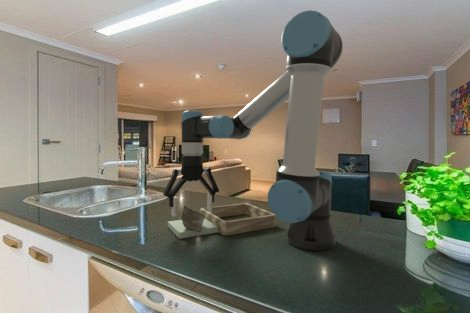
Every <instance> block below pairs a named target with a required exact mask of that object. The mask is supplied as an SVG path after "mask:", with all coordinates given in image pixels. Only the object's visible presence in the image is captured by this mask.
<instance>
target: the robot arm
mask: <svg viewBox="0 0 470 313" xmlns="http://www.w3.org/2000/svg"><path fill="white" fill-rule="evenodd" d="M280 42H281V47H282V49H283V51H284V52H285V53H286V60H285V64H286V65H285V71H284V72H283V73H282V74H281V75H280V76H279V77H278V78H277V79H275V81H273V82H272V83H270V85H269V86H267V87H266V88H265V89H264V90H263V91H262V92H261V93H259V94H258V95H257V96H256V97H255V98H253V100H252V101H250V102H249V103H247V105H246V106H244V108H242V109H241V110H240V111H239V112H238V113H236V115H234V116H233V117H230V116H229V115H224V114H216V115H208V116H207V115H206V116H204V114H203V111H201V110H184V111H183V112H182V114H181V122H180V124H181V125H180V126H181V154H182V156H181V169H177V168H173V169H172V173H171V176H170V179H169V181H168V183H167V185H166V187H165V189H164V191H163V196H165V197H166V198H168V206H169V207H170V208H171V216H172V217H173V218H175V217H177V198H176V195H177V193H179V191H180V190H181V188H182V187H183V186H184V184H186V183H187V182H193V181H194V182H197V181H199V182H200V184H202V186H203V187H204V188H205V189H206V190H207V192H208V193H207V196H206V197H207V198H206V201H207V202H206V205H207V206H206V207H207V211H209V212H212V207H213V203H215V195H216V193H219V192H220V189H219V187H218V185H217V182H216V180H215V178H214V176H213V173H212V168H211V167H205V168H203V167H204V166H203V165H204V156H203V154H204V139H218V140H219V139H220V140H221V139H230V140H231V139H233V140H241V139H243V140H244V139H246V138H248V137H249V136H250V134H251V132H252V129H253V128H255V127H256V126H257V125H259V123H260V122H262V121H263V120H265V118H267V117H268V116H270V115H272V113H273V112H275V111H276V110H277V109H278V108H279V107H281V106H282V105H283V104H284V103H286V102H287V101H288V104H287V106H288V107H287V114H286V124H285V125H286V126H285V136H284V146H283V147H284V148H283V158H282V159H283V160H282V164H281V165H280V166H279V167H278V168H276V175H275V182H274V183H273V184H272V185H271V186H270V187H269V189H268V192H267V203H268V207H269V209H270V212H271V213H274V214H275V216H276V219H279V220H280V221H282V222H286V223H290V224H289V228H288V230H287V232H286V242H287V244H289V245H291V246H292V247H295V248H297V249H302V250H306V251H314V252H321V251H329V250H333V249H334V248H335V247H336V235H335V234H334V229H333V225H332V222H331V214H332V212H331V211H332V210H331V208H332V186H333V180H332V175H331V173H330V172H327V171H319V170H317V169H316V159H317V150H318V149H317V148H318V138H319V130H320V121H321V120H320V119H321V112H322V111H321V110H322V100H323V92H324V91H323V90H324V82H325V80H324V79H325V76H327V75H328V74H329V73H331V70H332V68H333V67H334V66H335V65H336V64H337V63H338V61H339V60H340V58H341V56H342V53H343V40H342V36H341V35H340V34H339V32H338V31H336V29H335V28H334V26H333V25H332V23H331V22H330V19H328V17H327V16H325V15H324V14H322V13H321V12H320V11H317V10H305V11H301V12H299V13H297V14H296V15H294V16H292V18H291V19H290V20H289V21H288V22H287V23H286V24H285V26H284V28H283V30H282V33H281V41H280ZM180 174H181V175H182V176H181V177H180V178H179V181H178V182H177V183H176V184H175V182H176V181H177V178H178V176H180ZM203 174H206V177H207V180H208V182H209V183H210V184H209V183H208V182H207V181H206V179H205V178H204V177H203ZM174 185H175V186H174Z"/></svg>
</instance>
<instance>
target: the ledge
mask: <svg viewBox="0 0 470 313" xmlns="http://www.w3.org/2000/svg"><path fill="white" fill-rule="evenodd" d="M167 228H168V230H170V231H171V232H172V233H173V234H174V235H175V236H176V237H177V238H178V239H179V240H180V239H185V238H191V237H197V236H198V237H199V236H206V235H210V234H215V233H219V232H218V226H216V225H214V224H213V223H211V222H210V221H208V220H207V219H204V221H203V223H202V231H201V232H197V231H195V230H190V229H188V228H186V227H184V225H183V222H182V219H178V220H177V219H176V220H170V221H167Z"/></svg>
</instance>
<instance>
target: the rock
mask: <svg viewBox="0 0 470 313" xmlns="http://www.w3.org/2000/svg"><path fill="white" fill-rule="evenodd" d="M180 218H181V220H182V222H183V225H184V227H186V228H188V229H190V230H195V231H197V232H201V231H202V223H203V221H204V219H205V215H204V214H202V213H200V211H199V212H198V211H197V210H193V209H192V208H189V207H188V206H187V205H184V206H183V211H182V215H181V217H180Z"/></svg>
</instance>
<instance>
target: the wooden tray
mask: <svg viewBox="0 0 470 313" xmlns="http://www.w3.org/2000/svg"><path fill="white" fill-rule="evenodd" d="M199 212H200V213H202V214H204V215H205V219H207V220H208V221H210V222H211V223H213V224H214V225H216V226H218V232H217V233H219V234H221V235H222V236H231V235H236V234H242V233H247V232H249V233H250V232H254V231H260V230H265V229H270V228H272V229H273V228H275V227H276V226H277V217H276V216H275V214H274V213H273V212H272V211H268V210H265V209H263V208H261V207H257V206H255V205H253V204H250V203H248V202H247V203H244V202H242V203H233V204H226V205H225V204H224V205H217V206H212V212H209V211H207V206H206V207H202V208H199ZM238 215H248V216H249V217H246V218H239V219H233V220H224V219H222V218H223V217H225V218H226V217H230V216H232V217H233V216H238Z"/></svg>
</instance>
